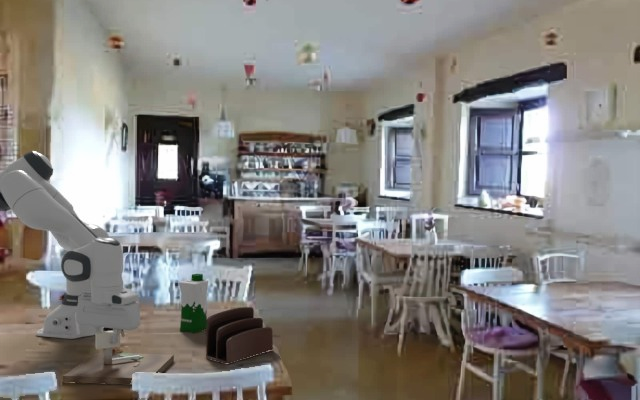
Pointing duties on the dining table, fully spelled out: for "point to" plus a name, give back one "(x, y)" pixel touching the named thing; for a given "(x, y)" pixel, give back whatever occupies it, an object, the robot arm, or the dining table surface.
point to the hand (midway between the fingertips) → (107, 342)
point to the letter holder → (236, 335)
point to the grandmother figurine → (115, 347)
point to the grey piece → (108, 346)
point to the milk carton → (193, 304)
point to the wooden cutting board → (117, 368)
